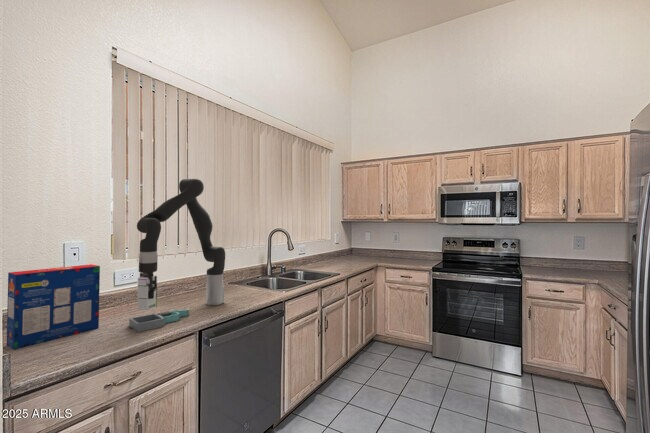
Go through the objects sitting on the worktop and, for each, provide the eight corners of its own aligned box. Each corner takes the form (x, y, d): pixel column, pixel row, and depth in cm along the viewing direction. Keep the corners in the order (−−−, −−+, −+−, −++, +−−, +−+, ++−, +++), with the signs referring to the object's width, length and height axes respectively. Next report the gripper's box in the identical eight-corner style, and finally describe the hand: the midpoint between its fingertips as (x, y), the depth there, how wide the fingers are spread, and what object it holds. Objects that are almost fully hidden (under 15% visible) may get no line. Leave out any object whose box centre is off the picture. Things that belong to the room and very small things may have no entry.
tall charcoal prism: (168, 316, 163) (168, 311, 163) (170, 317, 161) (170, 312, 161) (156, 318, 159) (156, 313, 159) (159, 320, 157) (159, 314, 157)
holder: (154, 320, 155) (155, 313, 155) (164, 326, 148) (164, 318, 148) (129, 326, 147) (129, 318, 147) (137, 332, 139) (137, 323, 140)
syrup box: (148, 310, 144) (148, 277, 144) (136, 309, 145) (137, 277, 145) (157, 306, 150) (157, 275, 150) (146, 305, 151) (146, 275, 151)
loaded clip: (188, 313, 168) (188, 307, 168) (188, 315, 163) (188, 310, 163) (171, 314, 165) (171, 309, 165) (170, 317, 160) (170, 311, 160)
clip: (175, 317, 160) (175, 311, 160) (179, 320, 157) (180, 313, 157) (158, 321, 154) (158, 315, 154) (162, 323, 151) (162, 317, 151)
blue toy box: (89, 325, 147) (91, 264, 147) (98, 328, 143) (99, 265, 143) (6, 345, 123) (8, 272, 123) (14, 350, 119) (15, 274, 119)
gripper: (163, 262, 146) (162, 298, 145) (151, 259, 155) (150, 293, 155) (145, 263, 140) (144, 301, 140) (133, 260, 150) (133, 295, 149)
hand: (147, 297), depth 147 cm, fingers closed on syrup box, 7 cm apart
